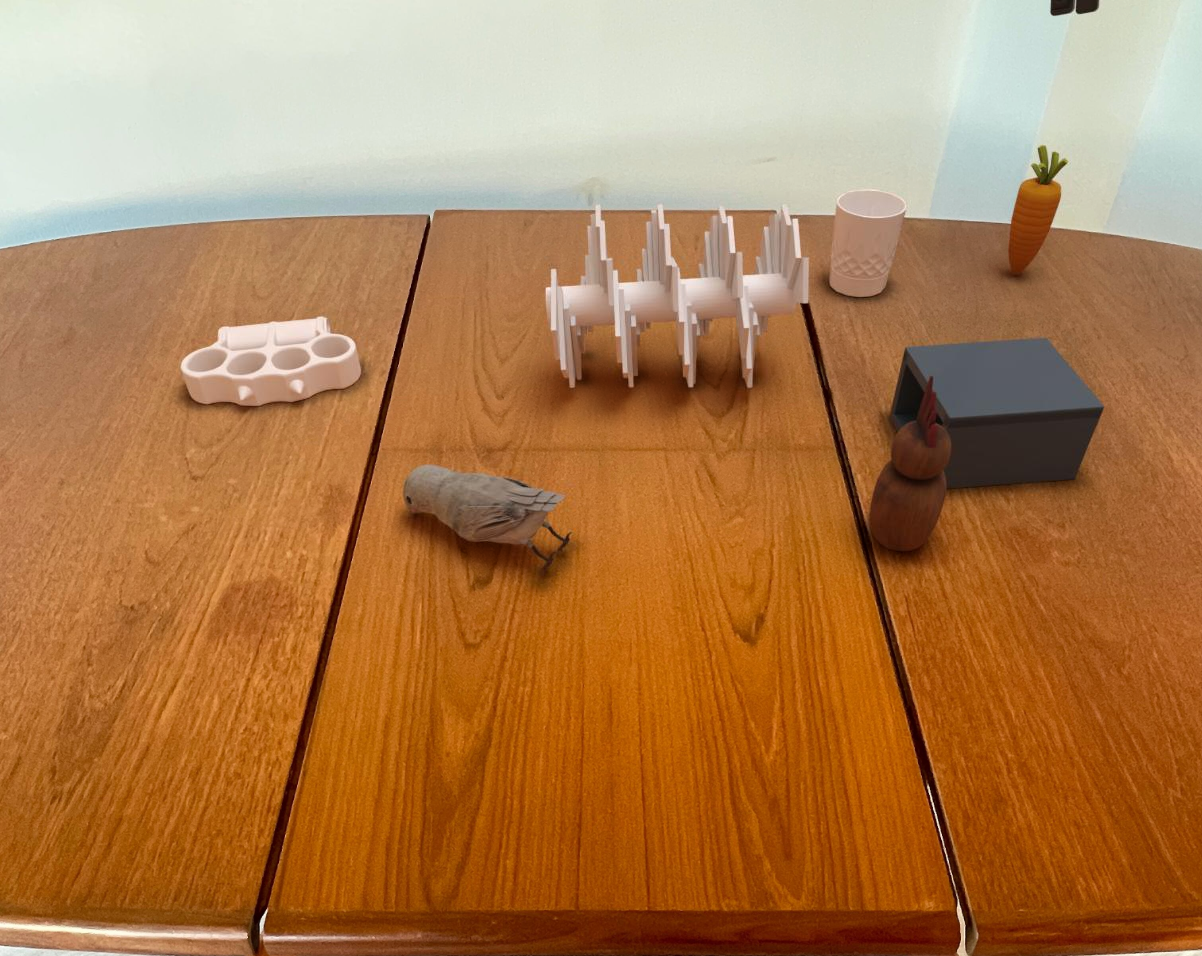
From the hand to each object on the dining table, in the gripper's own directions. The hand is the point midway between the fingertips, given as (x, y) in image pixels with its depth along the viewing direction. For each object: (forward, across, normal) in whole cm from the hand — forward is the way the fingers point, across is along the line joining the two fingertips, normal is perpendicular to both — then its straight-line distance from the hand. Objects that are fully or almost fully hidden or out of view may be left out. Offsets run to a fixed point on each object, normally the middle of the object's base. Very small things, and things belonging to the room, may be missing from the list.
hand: (1074, 13), depth 104 cm
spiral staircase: (+28, -42, +27) cm, 58 cm away
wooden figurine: (+40, -51, -3) cm, 65 cm away
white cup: (+25, -12, +20) cm, 34 cm away
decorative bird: (+35, -74, +25) cm, 85 cm away
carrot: (+27, +2, +6) cm, 28 cm away
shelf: (+36, -34, -3) cm, 50 cm away
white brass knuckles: (+22, -68, +60) cm, 94 cm away
